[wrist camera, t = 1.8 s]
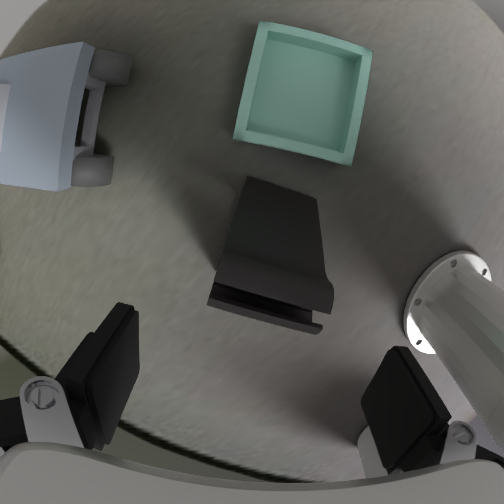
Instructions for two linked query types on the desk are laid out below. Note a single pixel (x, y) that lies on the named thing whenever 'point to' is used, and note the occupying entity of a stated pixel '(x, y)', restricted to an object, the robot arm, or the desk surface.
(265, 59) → the tray
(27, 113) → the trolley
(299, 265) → the phone stand
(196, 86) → the desk surface
